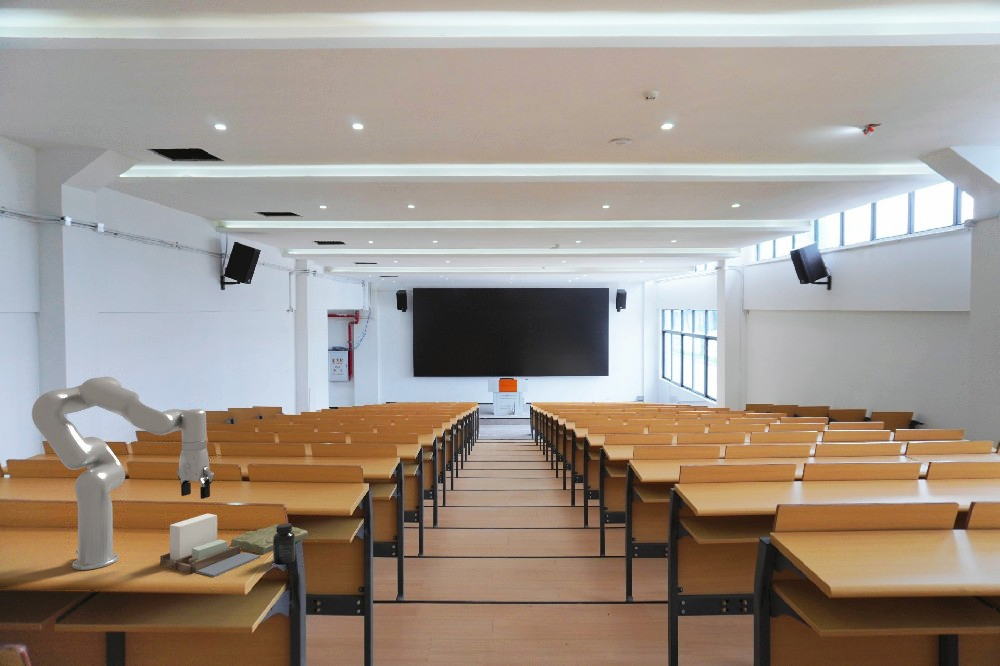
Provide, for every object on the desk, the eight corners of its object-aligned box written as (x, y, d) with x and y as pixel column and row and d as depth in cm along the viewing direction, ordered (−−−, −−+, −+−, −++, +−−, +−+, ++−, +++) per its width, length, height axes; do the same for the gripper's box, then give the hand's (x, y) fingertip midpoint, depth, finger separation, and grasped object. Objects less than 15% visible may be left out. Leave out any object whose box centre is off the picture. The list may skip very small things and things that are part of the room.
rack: (160, 565, 193) (160, 556, 193) (208, 547, 209) (208, 539, 209) (192, 573, 186) (192, 564, 186) (240, 554, 202) (240, 545, 202)
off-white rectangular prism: (169, 564, 194) (169, 524, 194) (207, 550, 206) (207, 513, 206) (179, 566, 192) (179, 527, 192) (217, 552, 204) (217, 515, 204)
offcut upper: (191, 557, 193) (191, 548, 193) (220, 548, 201) (220, 539, 201) (198, 559, 191) (198, 550, 191) (227, 550, 199) (227, 541, 199)
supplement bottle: (275, 558, 198) (275, 522, 198) (296, 556, 200) (296, 521, 200) (271, 566, 192) (271, 529, 192) (293, 564, 193) (293, 527, 193)
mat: (196, 572, 187) (196, 570, 187) (243, 553, 203) (243, 552, 203) (213, 577, 183) (213, 575, 183) (260, 557, 199) (260, 555, 199)
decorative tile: (308, 538, 220) (308, 528, 220) (264, 555, 202) (264, 545, 202) (273, 531, 228) (273, 521, 229) (228, 547, 211) (228, 537, 211)
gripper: (167, 446, 200) (168, 496, 200) (201, 449, 192) (202, 501, 192) (187, 442, 206) (188, 491, 206) (221, 445, 199) (222, 496, 199)
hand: (195, 496), depth 199 cm, fingers open, 9 cm apart
